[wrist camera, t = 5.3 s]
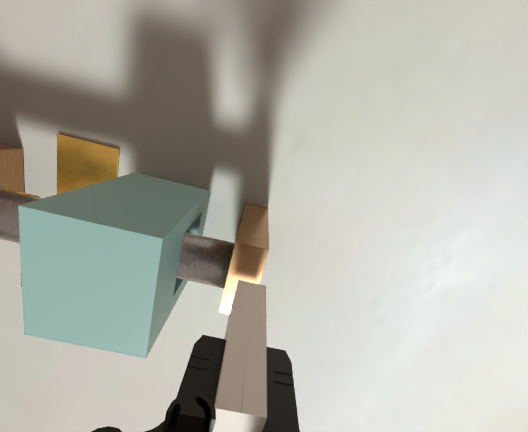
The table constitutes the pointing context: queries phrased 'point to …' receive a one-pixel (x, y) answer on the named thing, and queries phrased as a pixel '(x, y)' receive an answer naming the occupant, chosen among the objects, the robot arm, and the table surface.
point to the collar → (107, 261)
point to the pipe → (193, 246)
